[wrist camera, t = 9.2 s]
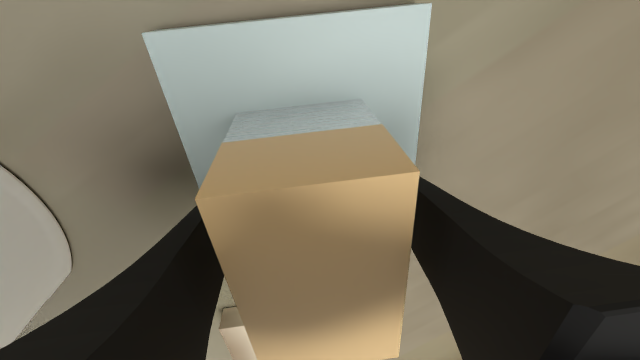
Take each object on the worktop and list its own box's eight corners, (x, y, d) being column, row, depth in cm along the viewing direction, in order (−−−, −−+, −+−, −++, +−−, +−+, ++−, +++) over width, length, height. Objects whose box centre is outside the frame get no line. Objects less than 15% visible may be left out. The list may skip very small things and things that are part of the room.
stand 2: (238, 264, 18) (234, 284, 16) (158, 29, 11) (141, 32, 10) (397, 243, 18) (405, 261, 17) (415, 3, 11) (431, 3, 10)
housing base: (272, 255, 16) (268, 304, 13) (236, 112, 11) (222, 143, 9) (362, 243, 16) (377, 289, 13) (361, 98, 12) (382, 125, 9)
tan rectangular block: (268, 304, 13) (264, 376, 10) (221, 142, 9) (194, 199, 6) (377, 288, 13) (398, 357, 11) (382, 123, 9) (419, 171, 6)
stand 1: (260, 393, 27) (258, 412, 25) (223, 308, 20) (218, 329, 19) (366, 377, 27) (369, 396, 26) (366, 288, 20) (371, 308, 19)
